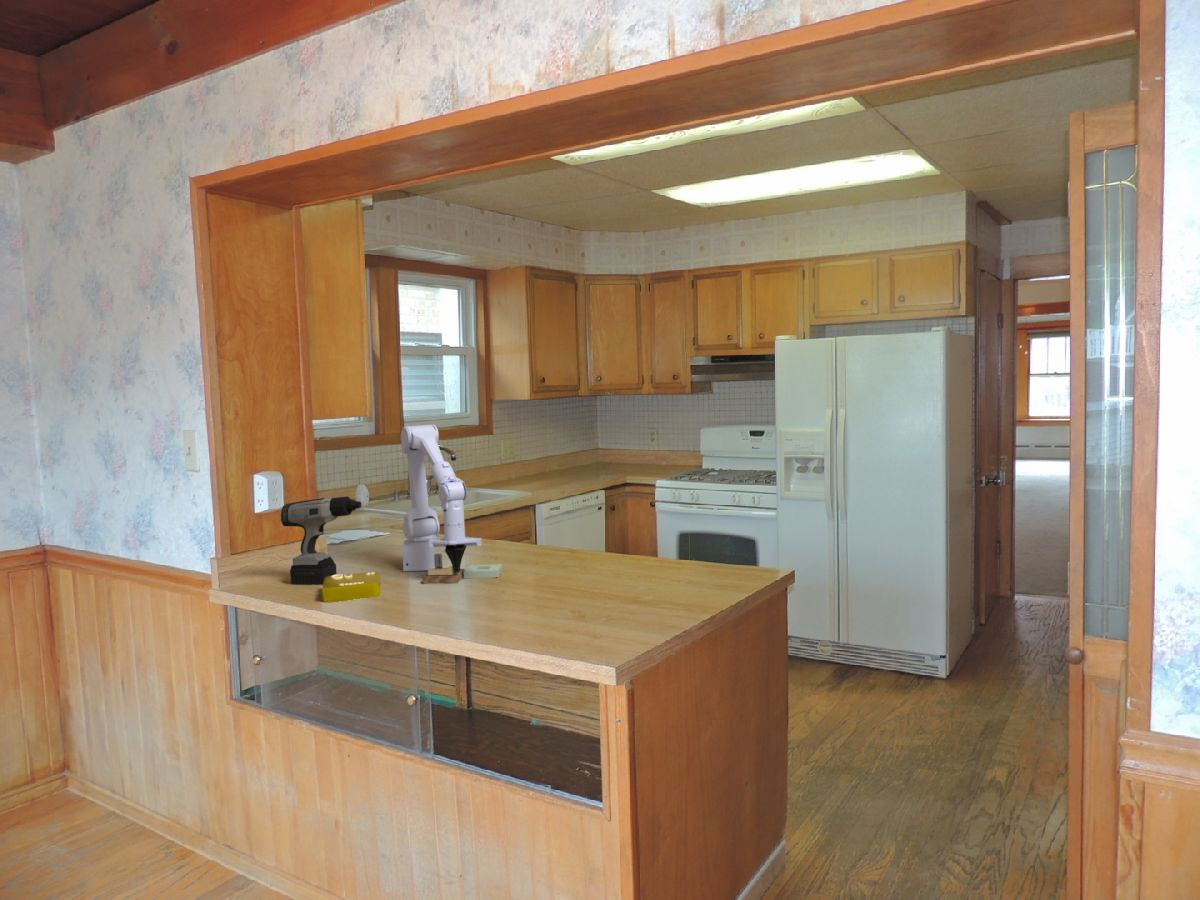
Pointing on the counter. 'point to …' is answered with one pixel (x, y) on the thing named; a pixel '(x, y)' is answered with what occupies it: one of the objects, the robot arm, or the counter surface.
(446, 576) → the socket block
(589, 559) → the counter surface
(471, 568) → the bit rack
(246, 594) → the counter surface
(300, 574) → the cordless drill
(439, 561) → the silver cylindrical rod
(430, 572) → the bar
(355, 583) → the element tile
